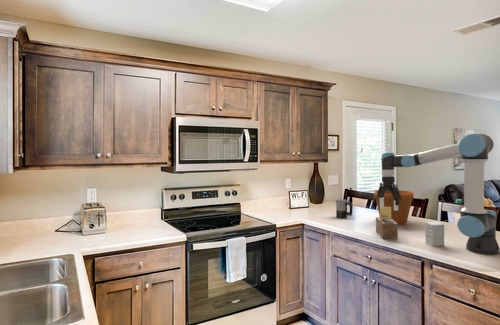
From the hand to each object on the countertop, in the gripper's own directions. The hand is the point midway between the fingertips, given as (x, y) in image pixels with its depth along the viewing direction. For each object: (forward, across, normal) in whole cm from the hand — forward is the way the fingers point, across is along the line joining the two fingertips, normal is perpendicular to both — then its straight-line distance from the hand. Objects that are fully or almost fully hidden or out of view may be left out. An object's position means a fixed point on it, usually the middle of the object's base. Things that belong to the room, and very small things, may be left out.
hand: (388, 208), depth 207 cm
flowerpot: (+18, +36, -32) cm, 51 cm away
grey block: (+18, +1, 0) cm, 18 cm away
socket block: (+19, +6, -2) cm, 20 cm away
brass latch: (+8, +7, -3) cm, 11 cm away
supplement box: (+19, -20, -15) cm, 32 cm away
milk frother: (+18, +67, -8) cm, 70 cm away
